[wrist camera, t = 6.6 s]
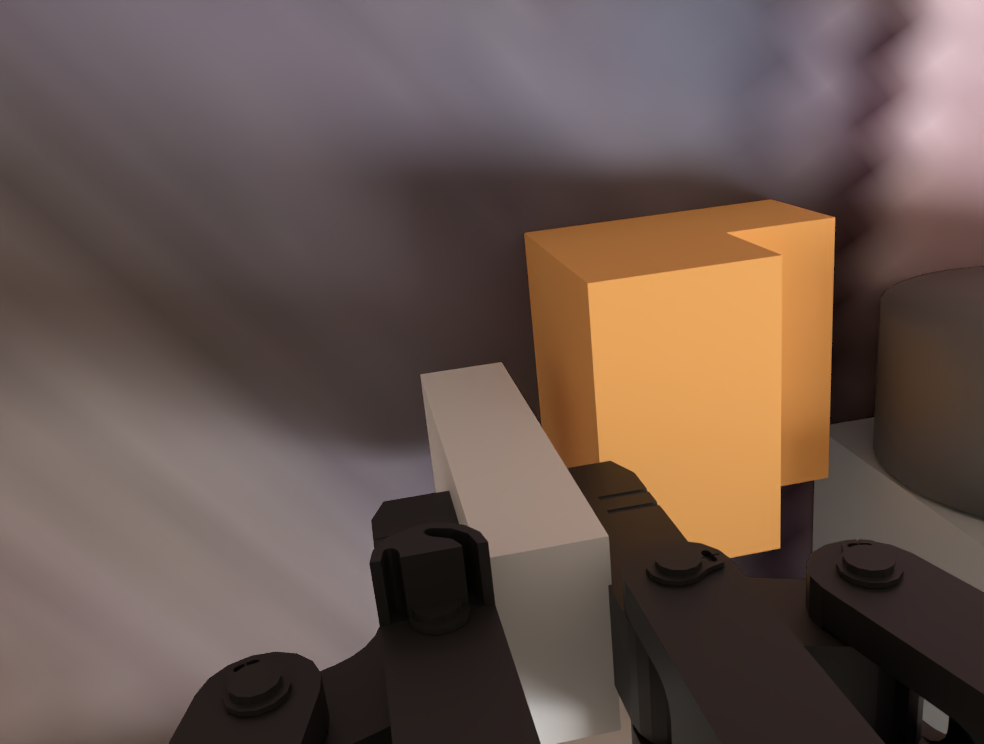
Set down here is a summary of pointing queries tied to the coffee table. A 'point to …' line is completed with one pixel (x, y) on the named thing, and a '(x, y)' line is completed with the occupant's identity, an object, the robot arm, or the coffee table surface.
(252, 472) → the coffee table surface
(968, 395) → the trolley
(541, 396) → the block
